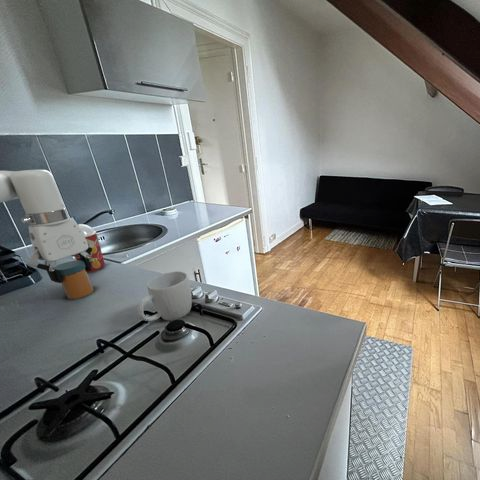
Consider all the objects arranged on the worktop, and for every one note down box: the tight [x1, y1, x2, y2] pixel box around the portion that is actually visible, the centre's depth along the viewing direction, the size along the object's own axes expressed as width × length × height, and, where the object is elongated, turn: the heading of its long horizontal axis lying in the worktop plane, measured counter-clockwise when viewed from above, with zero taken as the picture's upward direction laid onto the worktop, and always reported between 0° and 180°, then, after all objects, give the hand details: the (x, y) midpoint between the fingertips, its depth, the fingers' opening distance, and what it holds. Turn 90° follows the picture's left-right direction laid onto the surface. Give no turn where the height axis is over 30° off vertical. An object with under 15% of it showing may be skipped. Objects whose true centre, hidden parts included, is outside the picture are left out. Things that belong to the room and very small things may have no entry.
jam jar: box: [60, 269, 94, 300], centre depth 77 cm, size 6×6×10 cm
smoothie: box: [72, 216, 105, 273], centre depth 91 cm, size 8×8×20 cm
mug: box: [136, 271, 193, 322], centre depth 65 cm, size 13×9×10 cm
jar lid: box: [55, 259, 86, 276], centre depth 75 cm, size 7×7×2 cm
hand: (73, 275), depth 76 cm, fingers closed on jar lid, 6 cm apart
